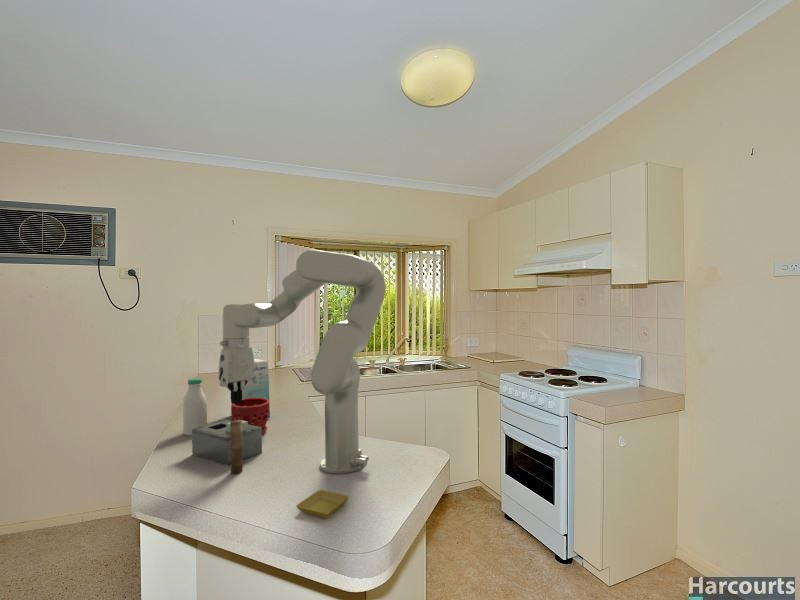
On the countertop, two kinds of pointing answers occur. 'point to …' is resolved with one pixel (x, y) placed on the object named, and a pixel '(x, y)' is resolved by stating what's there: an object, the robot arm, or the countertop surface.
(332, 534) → the countertop surface
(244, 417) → the plant pot
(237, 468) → the stylus dowel
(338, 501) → the olive square dish
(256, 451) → the grey box
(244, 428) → the on button
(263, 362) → the toothbrush box
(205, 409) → the milk bottle
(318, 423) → the countertop surface
